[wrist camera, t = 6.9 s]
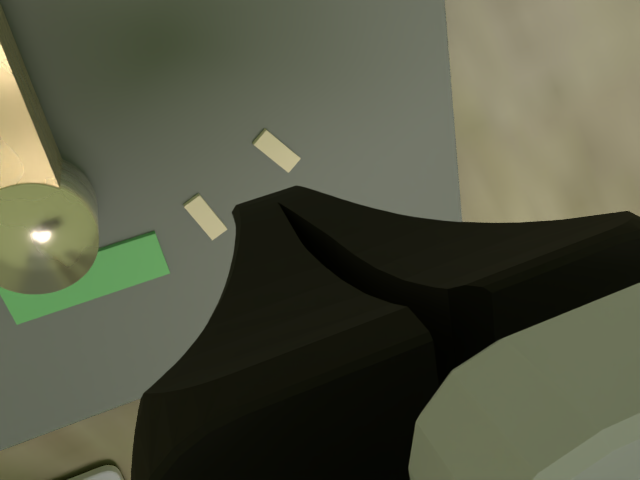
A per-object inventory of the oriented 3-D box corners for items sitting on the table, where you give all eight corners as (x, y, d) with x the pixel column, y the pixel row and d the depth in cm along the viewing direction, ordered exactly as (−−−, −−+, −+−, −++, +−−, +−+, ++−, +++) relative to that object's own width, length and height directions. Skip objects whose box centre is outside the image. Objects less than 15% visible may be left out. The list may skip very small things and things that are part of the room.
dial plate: (453, 264, 25) (469, 279, 24) (-256, 525, 20) (-274, 557, 19) (392, -408, 15) (414, -432, 14) (-1058, -235, 10) (-1187, -254, 9)
